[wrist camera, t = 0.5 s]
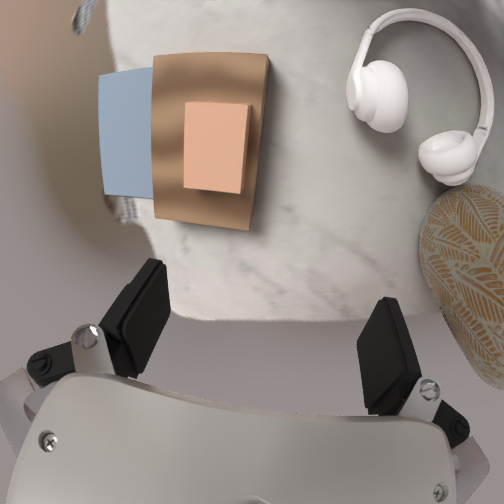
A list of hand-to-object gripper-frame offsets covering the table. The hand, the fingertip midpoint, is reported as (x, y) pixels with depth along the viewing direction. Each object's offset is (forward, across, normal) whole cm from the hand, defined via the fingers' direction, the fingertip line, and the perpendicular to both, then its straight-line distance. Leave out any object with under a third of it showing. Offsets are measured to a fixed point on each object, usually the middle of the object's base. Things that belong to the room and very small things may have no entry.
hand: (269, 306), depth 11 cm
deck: (+24, +9, -3) cm, 26 cm away
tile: (+18, +7, -2) cm, 20 cm away
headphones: (+24, -16, -15) cm, 32 cm away
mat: (+24, +21, -2) cm, 31 cm away
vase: (+24, -27, +3) cm, 36 cm away
